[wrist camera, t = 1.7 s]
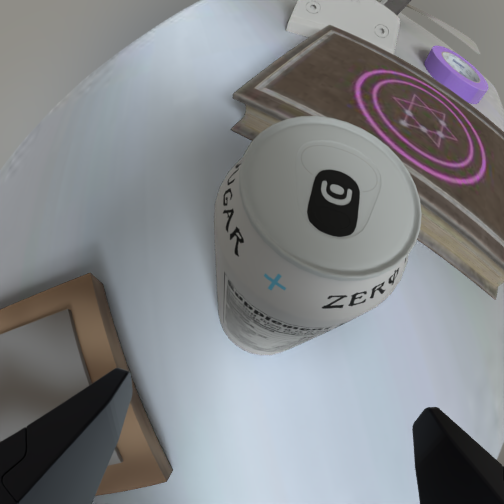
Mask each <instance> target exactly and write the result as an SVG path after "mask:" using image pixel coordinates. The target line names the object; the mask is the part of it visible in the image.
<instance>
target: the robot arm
mask: <svg viewBox="0 0 504 504" xmlns="http://www.w3.org/2000/svg"><path fill="white" fill-rule="evenodd" d="M132 392H133V389H132V380H131V373H130V372H129V371H128V370H124V369H121V368H115V369H113V370H112V371H110V372H109V373H107V374H106V375H104V376H103V377H101V378H100V379H98V380H97V381H95V382H93V383H92V384H90V385H89V386H87V387H86V388H84V389H83V390H81V391H80V392H78V393H77V394H75V395H74V396H72V397H71V398H69V399H68V400H66V401H65V402H63V403H61V404H60V405H58V406H57V407H55V408H54V409H52V410H51V411H49V412H48V413H46V414H44V415H43V416H41V417H40V418H38V419H37V420H35V421H34V422H32V423H30V424H29V425H27V427H24V428H22V429H21V430H19V431H18V432H16V433H14V434H13V435H11V436H9V437H8V438H6V439H4V440H2V441H0V504H92V502H93V499H94V497H95V495H96V492H97V490H98V487H99V485H100V483H101V480H102V478H103V475H104V473H105V471H106V468H107V466H108V464H109V461H110V459H111V457H112V454H113V452H114V450H115V447H116V445H117V443H118V440H119V437H120V434H121V431H122V427H123V424H124V420H125V417H126V414H127V410H128V407H129V404H130V401H131V398H132ZM412 430H413V442H414V457H415V470H416V477H417V484H418V491H419V499H420V504H504V467H503V466H502V465H501V464H500V463H499V462H498V461H497V460H496V459H495V458H494V457H492V456H491V455H490V454H489V453H488V452H487V451H486V450H485V449H484V448H482V447H481V446H480V445H479V444H478V443H477V442H476V441H475V440H474V439H472V438H471V437H470V436H469V435H468V434H467V433H466V432H465V431H463V430H462V429H461V428H460V427H459V426H458V425H457V424H456V423H455V422H453V421H452V420H451V419H450V418H449V417H448V416H447V415H446V414H444V413H443V412H442V411H441V410H440V409H439V408H437V407H428V408H426V409H424V411H423V412H422V413H421V414H420V416H419V417H418V418H417V420H416V421H415V422H414V424H413V429H412Z"/></svg>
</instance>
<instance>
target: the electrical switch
mask: <svg viewBox="0 0 504 504" xmlns="http://www.w3.org/2000/svg"><path fill="white" fill-rule="evenodd" d="M410 1H411V0H381V1H380V2H379V3H381V4H383V5H384V6H386V7H387V8H388V9H390V10H391V11H392V12H393V13H395V14H396V15H398V14H399V13H400V12H401V11H402V10H403V9H404V7H405V6H406V5H407V4H408V3H409V2H410Z"/></svg>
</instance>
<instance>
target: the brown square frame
mask: <svg viewBox="0 0 504 504" xmlns="http://www.w3.org/2000/svg"><path fill="white" fill-rule="evenodd" d="M115 368H121V369H124V370H128V371H129V368H128V366H127V363H126V360H125V357H124V354H123V351H122V348H121V345H120V342H119V339H118V336H117V332H116V329H115V326H114V323H113V319H112V316H111V312H110V309H109V305H108V301H107V298H106V294H105V290H104V286H103V284H102V283H101V282H100V281H99V280H98V279H97V278H96V277H94V276H93V275H92V274H91V273H88V274H86V275H83V276H80V277H78V278H75V279H73V280H70V281H68V282H65V283H63V284H60V285H58V286H55V287H53V288H50V289H48V290H46V291H43V292H41V293H38V294H36V295H33V296H31V297H29V298H26V299H24V300H21V301H19V302H17V303H14V304H12V305H10V306H7V307H5V308H3V309H0V441H2V440H4V439H6V438H8V437H9V436H11V435H13V434H14V433H16V432H18V431H19V430H21V429H22V428H24V427H27V425H29V424H30V423H32V422H34V421H35V420H37V419H38V418H40V417H41V416H43V415H44V414H46V413H48V412H49V411H51V410H52V409H54V408H55V407H57V406H58V405H60V404H61V403H63V402H65V401H66V400H68V399H69V398H71V397H72V396H74V395H75V394H77V393H78V392H80V391H81V390H83V389H84V388H86V387H87V386H89V385H90V384H92V383H93V382H95V381H97V380H98V379H100V378H101V377H103V376H104V375H106V374H107V373H109V372H110V371H112V370H113V369H115ZM129 372H130V371H129ZM131 380H132V389H133V392H132V398H131V401H130V404H129V407H128V410H127V414H126V417H125V420H124V424H123V427H122V431H121V434H120V437H119V440H118V443H117V445H116V447H115V450H114V452H113V454H112V457H111V459H110V461H109V464H108V466H107V468H106V471H105V473H104V475H103V478H102V480H101V483H100V485H99V487H98V490H97V492H96V495H95V496H97V495H104V494H111V493H117V492H122V491H128V490H133V489H138V488H142V487H147V486H151V485H155V484H160V483H164V482H167V480H168V478H169V477H170V475H171V473H172V471H173V470H172V468H171V466H170V464H169V462H168V460H167V458H166V456H165V454H164V452H163V450H162V448H161V446H160V444H159V441H158V439H157V437H156V435H155V433H154V431H153V428H152V426H151V424H150V421H149V419H148V417H147V415H146V412H145V410H144V407H143V405H142V402H141V400H140V398H139V395H138V392H137V390H136V387H135V385H134V382H133V379H132V377H131Z"/></svg>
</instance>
